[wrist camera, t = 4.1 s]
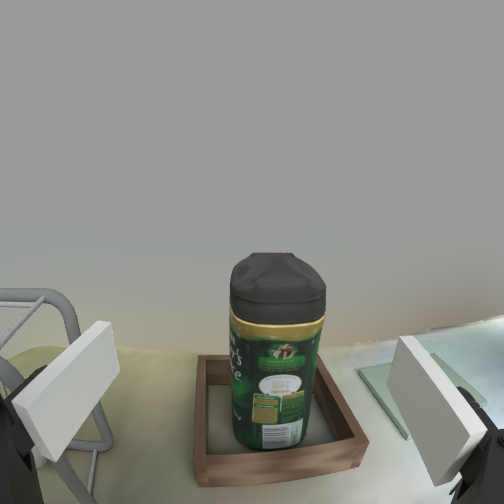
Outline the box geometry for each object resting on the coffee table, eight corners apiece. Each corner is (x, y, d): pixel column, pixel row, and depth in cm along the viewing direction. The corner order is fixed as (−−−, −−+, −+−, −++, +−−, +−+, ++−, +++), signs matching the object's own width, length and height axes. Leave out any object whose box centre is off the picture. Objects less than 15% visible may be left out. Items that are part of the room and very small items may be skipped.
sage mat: (432, 357, 39) (433, 353, 39) (485, 405, 26) (487, 400, 25) (358, 373, 37) (359, 369, 37) (406, 440, 24) (408, 435, 24)
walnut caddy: (311, 373, 38) (315, 349, 37) (358, 466, 22) (369, 441, 21) (200, 380, 36) (198, 355, 35) (198, 486, 20) (193, 463, 19)
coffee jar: (231, 396, 33) (230, 245, 29) (296, 394, 34) (310, 246, 30) (231, 455, 24) (227, 276, 20) (311, 451, 24) (342, 276, 20)
